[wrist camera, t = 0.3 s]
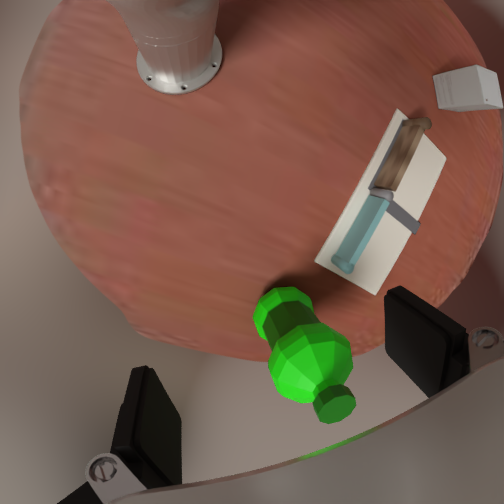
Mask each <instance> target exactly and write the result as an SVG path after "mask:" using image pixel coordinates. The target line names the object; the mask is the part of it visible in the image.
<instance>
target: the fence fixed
mask: <svg viewBox="0 0 504 504" xmlns="http://www.w3.org/2000/svg"><path fill="white" fill-rule="evenodd" d="M402 126H403V127H402V129H401V131H400V133H399V135H398V137H397V139H396V141H395V143H394V145H393V147H392V149H391V151H390V153H389V155H388V157H387V159H386V161H385V163H384V165H383V167H382V169H381V171H380V173H379V175H378V177H377V179H376V181H375V183H374V185H375V186H376V187H377V188H379V189H385V190H390V191H395V192H396V190H397V188H398V186H399V184H400V182H401V180H402V178H403V176H404V174H405V172H406V170H407V168H408V166H409V164H410V162H411V159H412V157H413V155H414V153H415V151H416V149H417V147H418V144H419V142H420V140H421V138H422V135H423V133H424V131H425V129H430V128H431V126H432V123H431V120H430V119H429V118H428V117H424V118H416V119H408V120H404V121H403V122H402Z"/></svg>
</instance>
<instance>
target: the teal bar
mask: <svg viewBox="0 0 504 504" xmlns="http://www.w3.org/2000/svg"><path fill="white" fill-rule="evenodd" d="M370 195H371V196H370ZM370 195H369V196H368V198H367V199H366V201H365V203H364V205H363V207H362V209H361V210H360V212H359V214H358V216H357V218H356V219H355V221H354V223H353V225H352V227H351V228H350V230H349V232H348V234H347V235H346V237H345V239H344V240H343V242H342V244H341V246H340V247H339V249H338V251H337V252H336V254H335V255H333V256H332V258H331V262H332V263H333V264H334V265H335V266H336V267H338V268H339V269H340V270H342V271H343V272H344V273H346V274H351V273H352V272H353V270H354V266H355V264H356V262H357V261H358V259H359V257H360V256H361V254H362V252H363V251H364V249H365V247H366V245H367V244H368V242H369V240H370V238H371V237H372V235H373V233H374V231H375V229H376V228H377V226H378V224H379V222H380V220H381V218H382V217H383V215H384V213H385V211H386V209H387V207H388V205H389V204H390V203H389V202H388V201H392V200H393V198H394V194H393V192H392V191H388V190H383V189H377V188H372V189H371V190H370Z"/></svg>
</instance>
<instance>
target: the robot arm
mask: <svg viewBox="0 0 504 504" xmlns="http://www.w3.org/2000/svg"><path fill="white" fill-rule="evenodd" d="M106 1H107V2H109V3H110V4H111V5H112V6H114V7H115V8H116V9H117V11H118V12H119V13H120V15H121V16H122V18H123V20H124V22H125V23H126V25H127V27H128V29H129V31H130V33H131V35H132V37H133V39H134V41H135V43H136V45H137V47H138V49H139V50H138V54H137V69H138V72H139V74H140V76H141V78H142V79H143V81H144V82H145V83H146V84H147V85H148V86H149V87H150V88H152V89H154V90H155V91H158V92H160V93H163V94H169V95H181V94H187V93H190V92H193V91H196V90H198V89H200V88H201V87H203V86H204V85H206V84H207V83H208V82H210V80H211V79H212V78H213V77H214V76H215V74H216V73H217V71H218V70H219V67H220V64H221V60H222V47H221V43H220V41H219V39H218V37H217V36H216V35H215V29H216V22H217V16H218V10H219V0H106ZM213 65H215V66H216V67H212V66H213ZM150 78H151V80H150V81H148V79H150ZM184 87H185V88H186V90H183V88H184ZM384 310H385V349H386V352H387V354H388V356H390V358H391V359H392V360H393V361H394V362H395V363H396V364H397V365H398V366H399V367H400V368H401V369H402V370H403V371H404V372H405V373H406V374H407V375H408V376H409V378H410V379H411V380H412V381H413V382H414V383H415V384H416V385H417V386H418V387H419V388H420V389H421V390H422V391H423V392H424V393H425V394H426V396H427V397H428V398H429V399H427V400H425V401H423V402H422V403H420V404H418V405H416V406H415V407H413V408H411V409H409V410H407V411H406V412H404V413H402V414H400V415H398V416H396V417H394V418H392V419H390V420H388V421H386V422H384V423H382V424H380V425H378V426H376V427H374V428H372V429H369V430H367V431H365V432H363V433H360V434H358V435H356V436H354V437H351V438H349V439H347V440H344V441H342V442H340V443H337V444H334V445H331V446H329V447H326V448H324V449H321V450H318V451H316V452H312V453H310V454H307V455H304V456H301V457H298V458H295V459H291V460H288V461H285V462H282V463H279V464H275V465H271V466H268V467H264V468H260V469H256V470H252V471H249V472H244V473H240V474H235V475H231V476H226V477H221V478H215V479H211V480H205V481H199V482H194V483H187V484H182V457H181V418H180V415H179V413H178V411H177V410H176V408H175V406H174V405H173V403H172V401H171V399H170V398H169V396H168V395H167V392H166V391H165V389H164V387H163V385H162V383H161V382H160V380H159V378H158V376H157V374H156V372H155V371H154V369H153V368H149V367H148V366H146V365H145V366H141V367H136V368H133V369H132V371H131V375H130V379H129V383H128V387H127V390H126V394H125V398H124V403H123V404H122V405H121V407H120V411H119V415H118V419H117V423H116V428H115V432H114V437H113V441H112V446H111V451H110V453H104V454H100V455H98V456H96V457H94V458H93V459H92V460H91V461H90V462H89V463H88V465H87V467H86V470H85V476H86V478H87V480H88V481H87V482H86V483H84V484H83V485H82V486H80V487H79V488H78V489H76V490H75V491H74V492H72V493H71V494H70V495H68V496H67V497H66V498H65V499H63V500H61V501H60V502H59V503H57V504H504V341H503V338H502V335H501V334H500V333H499V332H498V331H497V330H495V329H493V328H490V327H480V328H477V329H474V330H473V331H472V332H471V333H470V334H467V333H466V328H464V327H463V326H461V325H460V324H458V323H457V322H455V321H454V320H452V319H451V318H449V317H448V316H447V315H445V314H444V313H442V312H441V311H439V310H438V309H436V308H435V307H433V306H432V305H430V304H429V303H427V302H426V301H424V300H422V299H421V298H419V297H418V296H416V295H415V294H413V293H412V292H410V291H409V290H407V289H405V288H404V287H402V286H397V287H395V288H392V289H390V290H388V291H387V295H385V296H384Z"/></svg>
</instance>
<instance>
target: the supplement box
mask: <svg viewBox="0 0 504 504" xmlns="http://www.w3.org/2000/svg"><path fill="white" fill-rule="evenodd" d="M433 81H434V86H435V91H436V96H437V103H438V108H439V109H444V110H451V111H457V112H463V111H473V110H487V109H502V108H503V104H502V99H501V93H500V88H499V83H498V78H497V74H496V73H495V72H493V71H490V70H488V69H486V68H483V67H481V66H479V65H473V66H469V67H464V68H460V69H456V70H452V71H448V72H444V73H441V74H437V75H434V76H433Z"/></svg>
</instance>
